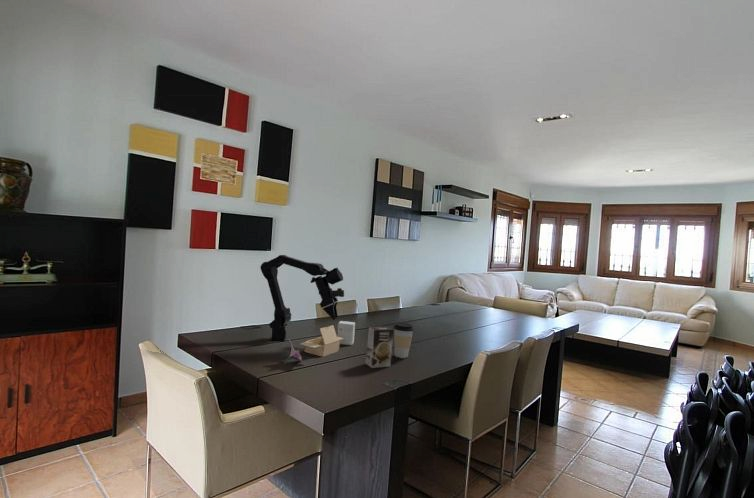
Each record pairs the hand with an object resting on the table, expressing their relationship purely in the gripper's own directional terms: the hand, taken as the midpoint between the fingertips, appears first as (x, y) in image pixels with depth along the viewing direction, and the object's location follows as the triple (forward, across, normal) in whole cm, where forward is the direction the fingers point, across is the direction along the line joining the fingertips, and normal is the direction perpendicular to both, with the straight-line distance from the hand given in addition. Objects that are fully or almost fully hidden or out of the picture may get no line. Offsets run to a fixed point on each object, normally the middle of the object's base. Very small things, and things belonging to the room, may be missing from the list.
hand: (335, 318), depth 190 cm
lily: (+10, -26, +19) cm, 33 cm away
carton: (+11, -6, +10) cm, 16 cm away
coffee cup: (+28, -2, -22) cm, 36 cm away
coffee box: (+24, -18, -12) cm, 33 cm away
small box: (+14, +12, +2) cm, 18 cm away
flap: (+5, -8, +4) cm, 11 cm away
